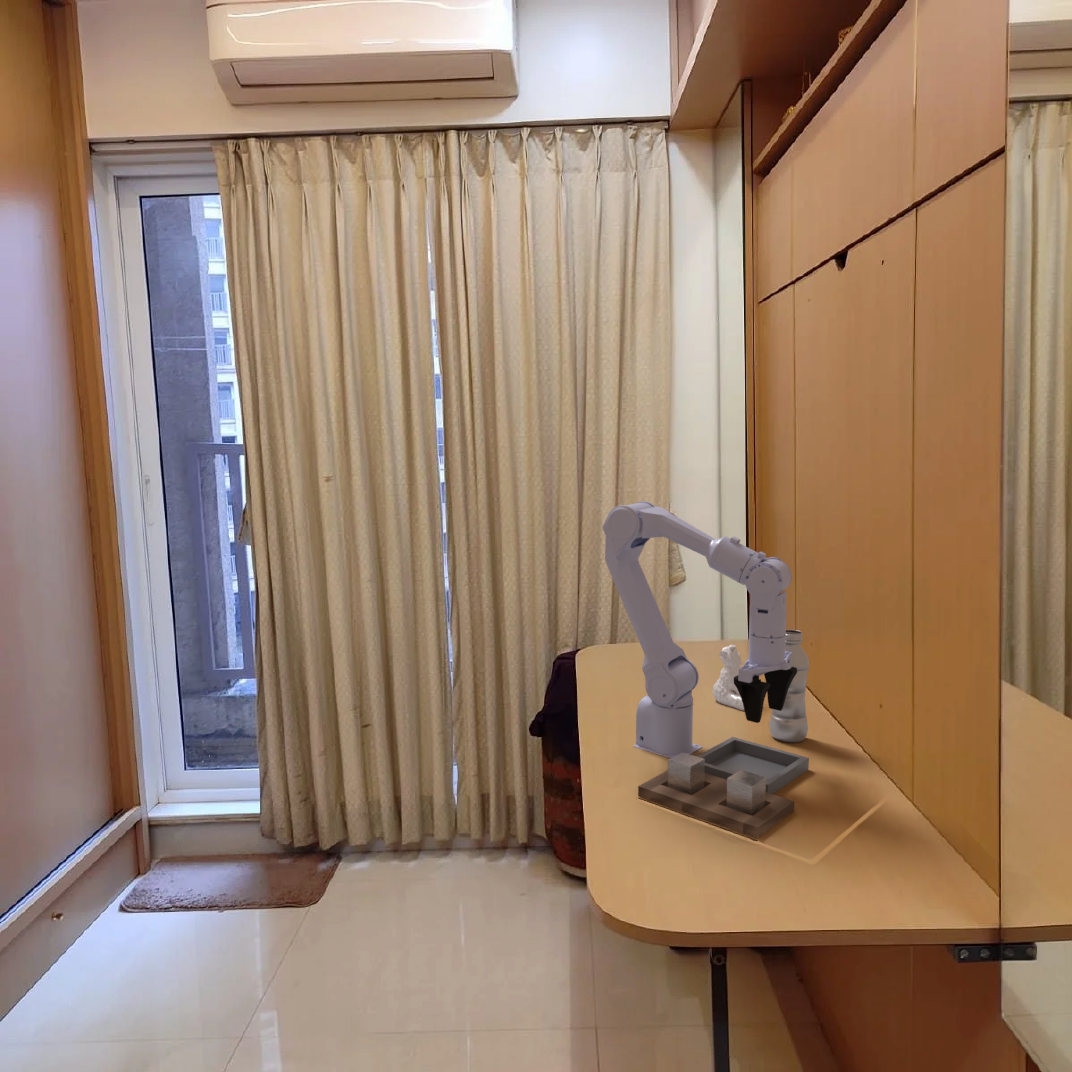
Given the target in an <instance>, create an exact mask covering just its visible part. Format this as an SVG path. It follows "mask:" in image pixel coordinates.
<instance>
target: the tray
mask: <svg viewBox="0 0 1072 1072" xmlns="http://www.w3.org/2000/svg"><path fill="white" fill-rule="evenodd" d="M696 756H697V757H700V758H703V759H705V773H707V774H710V775H713V776H716V777H720V778H723V779H726V780H727V778H728V777H730V776H732V775H733V774H735V773H737V772H738V771H740V770H743V771H746V772H750V773H753V774H756V775H760V776H763V777H766V788H765V792H767V793H770V794H774V795H775V794H776V793H777V792H778V791H780V790H781V789H782V788H784V787H785V786H787V785H788V784H789V783H791V782H793V781H794V780H795V779H796V780H797V778H799V777H801V775H803V774H804V773H806V772H808V771H809V768H810V767H809V762H810V761H809V760H810V758H809V757H807V756H804V755H801V754H800V755H799V754H797V753H793V752H789V751H785V750H782V749H779V748H775V747H771V746H767V745H764V744H760V743H757V742H752V741H749V740H745V739H742V738H738V737H734V736H731V737H730V738H728V739H726V740H723V741H722V742H720V743H718V744H717V745H715V746H713V747H710V748H709V749H707V750H706V751H703V752H702V753H700V754H697V755H696Z"/></svg>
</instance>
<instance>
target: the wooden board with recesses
mask: <svg viewBox="0 0 1072 1072" xmlns="http://www.w3.org/2000/svg"><path fill="white" fill-rule="evenodd" d="M637 788H638V791H637V793H638V795H637V796H638V797H637V799H638V800H641V801H644V802H647V803H649V804H653V805H655V806H659V807H661V808H664V809H666V810H669V811H672V812H674V813H678V814H680V815H683V816H686V817H689V818H691V819H693V820H697V821H699V822H703V823H706V824H708V825H710V826H714V827H717V828H719V829H722V830H725V831H727V832H730V833H733V834H736V835H739V836H741V837H744V838H747V839H749V840H752V841H755V842H759V840H757V839H759V838H760V837H761V836H762V835H764V834H765V833H766V832H768V831H769V830H770V829H772V828H773V827H775V826H776V825H777V824H779V823H780V822H781V821H782V820H784V819H785V818H786V817H787V818H788V817H789V816H790V815H791V814H792V813H793V812H794V811H795V800H793V799H789V798H786V797H783V796H779V795H777V794H775V793H774V794H770V793H767V792H765V808H763V809H762V810H760V811H759V812H758V813H756V814H755V815H753V816H752V815H749V814H746V813H743V812H740V811H737V810H734V809H731V808H728V807H726V805H727V780H726V779H723V778H720V777H716V776H713V775H710V774H707V773H705V776H704V788H703V789H701V790H700V791H698V792H696V793H695V794H693V795H690V794H687V793H684V792H681V791H678V790H675V789H672V788H669V787H668V769H667V770H665V771H663V772H662V773H660V774H658V775H656V776H654V777H652V778H651V779H648V780H647V781H645V782H643V783H641V784H639V785H638V787H637ZM646 799H647V800H646ZM649 800H650V801H649ZM651 801H652V802H651ZM660 804H661V805H660ZM663 805H664V806H663ZM665 806H666V807H665ZM677 810H678V811H677ZM680 811H681V812H680ZM682 812H683V813H682ZM691 815H692V816H691ZM710 822H711V823H710ZM716 824H717V825H716ZM719 825H720V826H719ZM722 826H723V827H722ZM724 827H725V828H724ZM730 829H731V830H730ZM736 831H737V832H736ZM749 836H750V837H749ZM753 837H754V838H753ZM755 838H756V839H755Z"/></svg>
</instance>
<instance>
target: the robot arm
mask: <svg viewBox="0 0 1072 1072" xmlns="http://www.w3.org/2000/svg"><path fill="white" fill-rule="evenodd" d="M602 530H603V533H604V535H605V541H604V543H605V545H604V546H605V548H604V550H605V551H604V559H605V564H606V566H607V569H608V571H609V573H610V576H611V578H612V580H613V583H614V586H615V587H616V590H617V592H618V595H619V597H620V599H621V603H622V604H623V607H624V609H625V611H626V613H627V617H628V618H629V621H630V623H631V625H632V628H633V630H634V632H635V635H636V637H637V639H638V642H639V644H640V647H641V649H642V651H643V653H644V657H643V662H642V668H641V669H642V672H643V675H644V680H645V684H644V685H645V686H644V687H645V691H646V692H645V693H646V694H647V695H645V696H643V697H642V698H641V700H640V701H639V703H638V704H637V705H638V706H637V708H636V713H635V723H636V724H635V744H633V748H636V749H639V750H643V751H646V752H648V753H649V752H650V753H653V754H656V755H658V756H661V757H665V758H668V759H671V758H673V757H674V756H676V755H678V754H680V753H682V752H683V753H687V754H690V755H692V754H693V753H695V752H697V751H698V750H700V749H703V746H702V745H699V744H697V743H693V721H694V720H693V719H694V698H693V690H694V689H695V688H696V687H697V686H698V683H699V679H700V676H699V671H698V669H697V667H696V665H695V664H694V663H693V662H692V661H691V660H690V659H689V658H688V657H687V655H686V653H685V650H684V649H683V648H682V647H681V646H679V645H678V644H676V643H675V642H674V640H673V639H672V636H671V633H670V631H669V629H668V627H667V624H666V621H665V620H664V617H663V615H662V613H661V610H660V609H659V605H658V604H657V601H656V599H655V597H654V594H653V591H652V590H651V587H650V584H649V583H648V580H647V577H646V575H645V573H644V571H643V568H642V566H641V564H640V562H639V558H640V555H641V553H642V552H643V549H644V547H645V545H646V544H647V542H648V541H650V539H651V538H652V539H653V538H665V539H668V540H669V541H672V542H674V543H676V544H678V545H680V546H682V547H685V548H686V549H689V550H691V551H693V552H695V553H697V554H699V555H701V556H704V558H705V559H706V562H707V564H708V567H709V568H711V569H713V570H715V572H716V571H717V572H718V573H720V574H721V575H723V576H726V577H727V578H729V579H731V580H733V581H735V582H736V583H739V584H740V585H742V586H745V587H746V590H747V592H748V593H749V595H750V599H749V601H750V602H749V619H748V620H749V622H748V623H749V625H748V628H749V629H748V655H747V656H748V657H747V659H746V660H745V662H744V664H743V665H742V666H740V667H741V668H740V669H739V671H738V675H737V676H735V677H734V684H735V686H736V688H737V689H738V691H739V694H740V696H741V699H742V702H743V706H744V711H743V712H744V715H745V718H746V719H745V720H746V721H748V722H750V723H756V724H759V723H760V722H761V719H762V717H763V709H764V703H765V698H766V697H767V703H768V708H769V709H771V710H772V709H775V710H779V711H781V710H782V709H783V706H784V703H785V699H786V695H787V692H788V689H789V686H790V684H791V682H792V680H793V678H794V677H795V675H796V674H797V668H795V667H791V664H792V652H787V651H785V635H786V630H787V591H786V590H787V589H788V588H789V586H790V584H791V582H792V578H793V577H792V571H791V568H790V567H789V566H788V564H787V563H786V562H784V561H783V560H782V559H781V558H779V557H777V556H776V557H775V556H770V557H766V556H767V554H766V553H765V552H763V551H759V552H758V551H755V550H753V549H751V548H749V547H747V546H746V545H743V544H741V543H740V542H741V539H740V538H738V537H736V536H732V537H728V536H722V537H719V538H717V539H716V538H714V537H712V536H711V535H709V534H707V532H706V533H705V532H704V531H702V530H700V529H699V528H697V527H695V526H694V525H692V524H691V523H688V522H686V521H685V520H683V519H681V518H680V517H678V516H676V515H674V514H673V513H671V512H670V511H668V510H666V508H664V507H661V506H655V504H653V503H652V502H650V501H644V500H642V501H638V502H636V503H632V504H631V503H630V504H627V505H624V504H620V505H617V506H615V507H613V508H612V509H611V510H610V511H609V512H608V514H607V516H606V519H605V520H604V522H603V524H602ZM763 675H764V679H765V681H762V680H761V678H760V676H763Z"/></svg>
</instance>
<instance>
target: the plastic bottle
mask: <svg viewBox="0 0 1072 1072" xmlns="http://www.w3.org/2000/svg"><path fill="white" fill-rule="evenodd" d="M802 644H803V631H800V630H798V629H786V635H785V651H787V652H792V664H791V667H795V668H797V674H796V675H795V677H794V678H793V680H792V682H791V684H790V686H789V689H788V692H787V695H786V699H785V703H784V706H783V709H782V710H781V711H779V710H775V709H771V713H770V719H769V723H768V724H769V726H768V727H769V732H770V734H771V736H772V737H773V738H774V739H775V740H776V741H779V742H782V743H799V742H802V741H804V740H805V738H806V737H807V735H808V731H809V725H808V717H807V713H806V712H807V711H806V690H807V689H806V688H807V679H808V675H809V668H810V660H809V656H808V655H807V653H806V651H805V650H804V648H803V647H802Z"/></svg>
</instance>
